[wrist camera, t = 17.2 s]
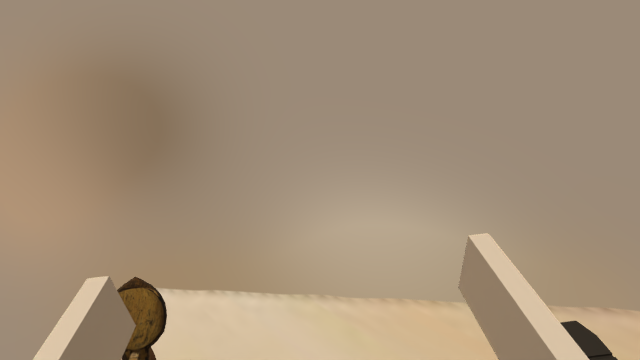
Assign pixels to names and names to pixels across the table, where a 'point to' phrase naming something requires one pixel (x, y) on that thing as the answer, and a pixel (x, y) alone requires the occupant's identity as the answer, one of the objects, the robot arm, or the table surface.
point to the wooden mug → (143, 318)
